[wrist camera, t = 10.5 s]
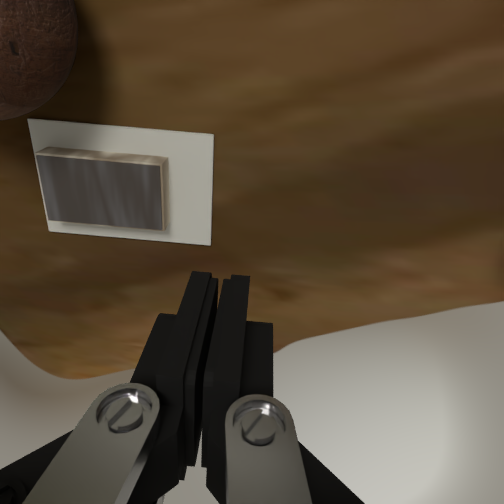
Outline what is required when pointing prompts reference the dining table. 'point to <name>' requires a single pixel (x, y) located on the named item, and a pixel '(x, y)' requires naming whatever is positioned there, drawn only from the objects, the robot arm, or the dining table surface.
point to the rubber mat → (144, 143)
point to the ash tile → (105, 188)
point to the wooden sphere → (34, 52)
